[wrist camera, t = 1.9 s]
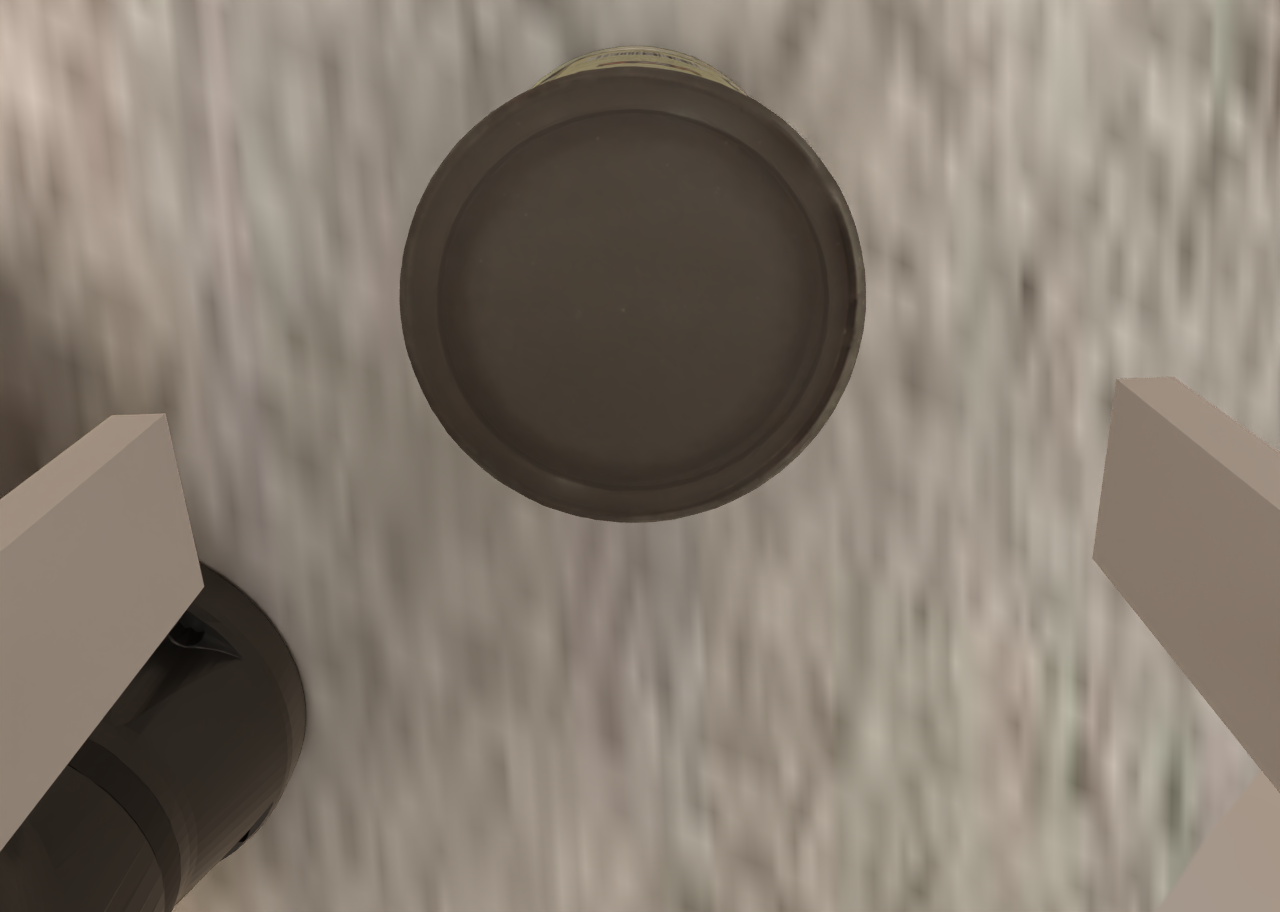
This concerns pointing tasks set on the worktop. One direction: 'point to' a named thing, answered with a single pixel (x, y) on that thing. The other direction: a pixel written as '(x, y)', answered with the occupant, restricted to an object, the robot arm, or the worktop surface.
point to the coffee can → (633, 290)
